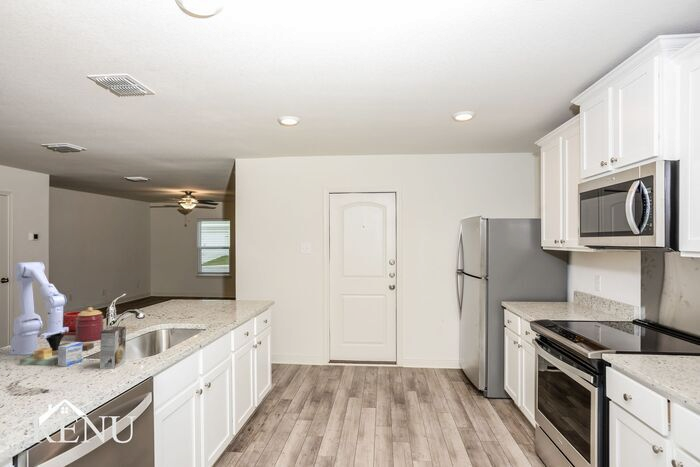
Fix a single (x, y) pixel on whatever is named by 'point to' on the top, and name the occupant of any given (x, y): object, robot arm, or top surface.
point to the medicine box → (69, 354)
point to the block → (42, 353)
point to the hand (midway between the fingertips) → (54, 350)
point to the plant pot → (70, 322)
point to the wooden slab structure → (52, 359)
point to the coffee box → (112, 347)
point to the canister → (89, 325)
